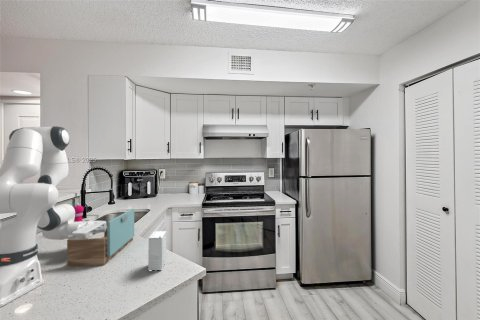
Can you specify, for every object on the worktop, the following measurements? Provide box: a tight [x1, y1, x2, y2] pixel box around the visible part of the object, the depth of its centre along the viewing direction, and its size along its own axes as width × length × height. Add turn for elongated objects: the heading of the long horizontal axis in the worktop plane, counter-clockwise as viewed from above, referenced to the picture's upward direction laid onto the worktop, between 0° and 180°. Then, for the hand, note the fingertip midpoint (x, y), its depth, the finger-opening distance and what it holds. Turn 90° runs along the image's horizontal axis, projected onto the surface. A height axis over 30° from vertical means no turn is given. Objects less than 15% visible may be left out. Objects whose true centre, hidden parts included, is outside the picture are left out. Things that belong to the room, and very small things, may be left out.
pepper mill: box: [73, 202, 85, 222], centre depth 145 cm, size 7×7×20 cm
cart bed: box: [66, 219, 134, 267], centre depth 117 cm, size 32×16×12 cm, turn 4°
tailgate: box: [107, 208, 135, 257], centre depth 118 cm, size 28×2×16 cm, turn 4°
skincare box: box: [147, 230, 167, 270], centre depth 100 cm, size 8×6×15 cm
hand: (106, 229), depth 118 cm, fingers closed
